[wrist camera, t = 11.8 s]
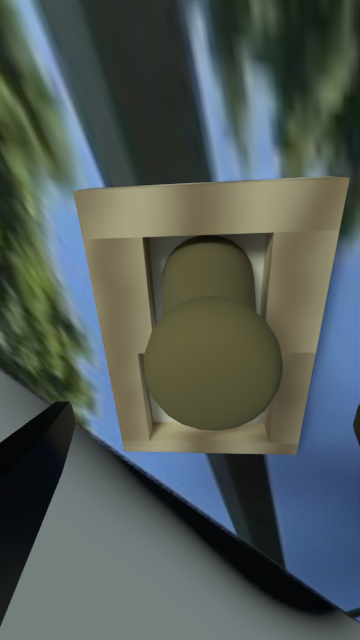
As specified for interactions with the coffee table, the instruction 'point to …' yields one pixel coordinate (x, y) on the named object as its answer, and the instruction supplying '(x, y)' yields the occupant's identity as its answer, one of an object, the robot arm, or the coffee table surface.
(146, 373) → the cork
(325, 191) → the keyhole plate
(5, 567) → the robot arm
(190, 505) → the coffee table surface
